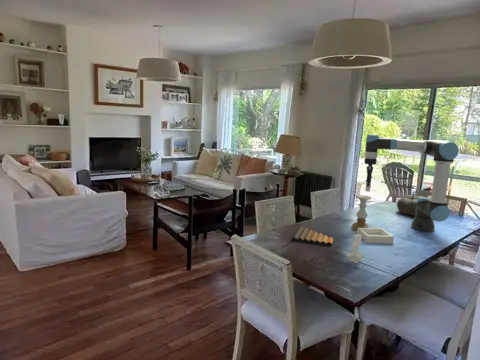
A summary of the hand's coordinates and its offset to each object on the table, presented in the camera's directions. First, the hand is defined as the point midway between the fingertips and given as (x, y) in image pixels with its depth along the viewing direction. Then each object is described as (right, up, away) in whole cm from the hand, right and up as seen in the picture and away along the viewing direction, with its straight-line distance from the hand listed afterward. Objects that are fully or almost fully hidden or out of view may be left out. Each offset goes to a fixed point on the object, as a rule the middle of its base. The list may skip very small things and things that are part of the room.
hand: (368, 189), depth 235 cm
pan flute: (-38, -32, -7) cm, 50 cm away
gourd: (+60, -22, +61) cm, 89 cm away
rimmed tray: (+2, -32, -5) cm, 33 cm away
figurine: (-23, -38, -44) cm, 63 cm away
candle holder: (-1, -29, +14) cm, 32 cm away
